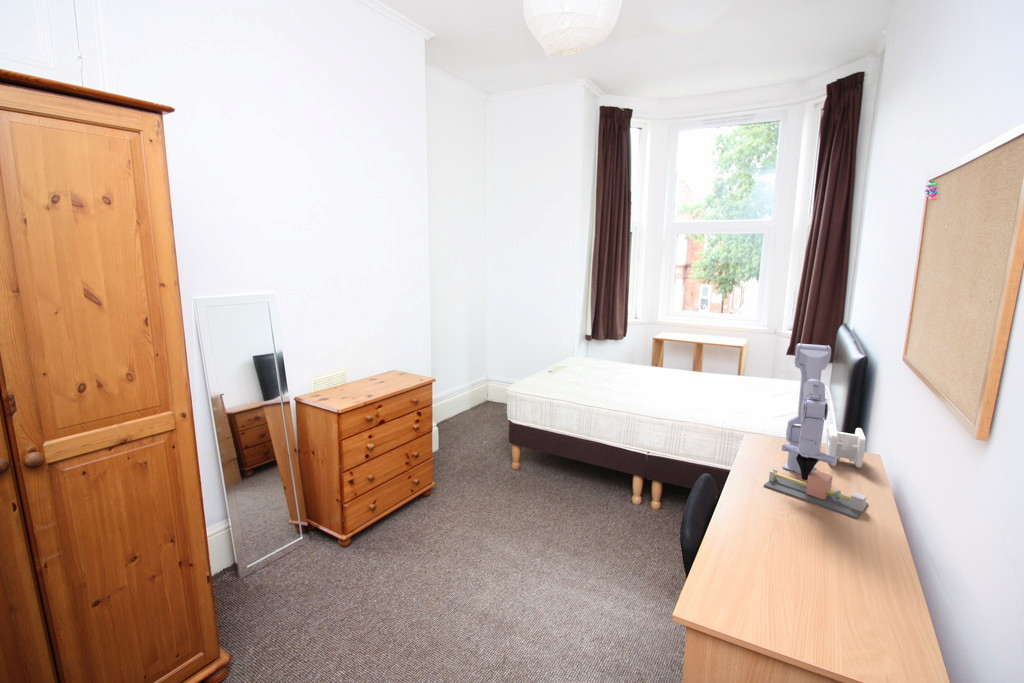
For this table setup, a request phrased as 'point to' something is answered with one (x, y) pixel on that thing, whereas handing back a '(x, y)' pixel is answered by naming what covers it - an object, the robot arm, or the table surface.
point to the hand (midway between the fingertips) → (805, 478)
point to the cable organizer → (846, 445)
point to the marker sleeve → (819, 484)
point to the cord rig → (833, 502)
